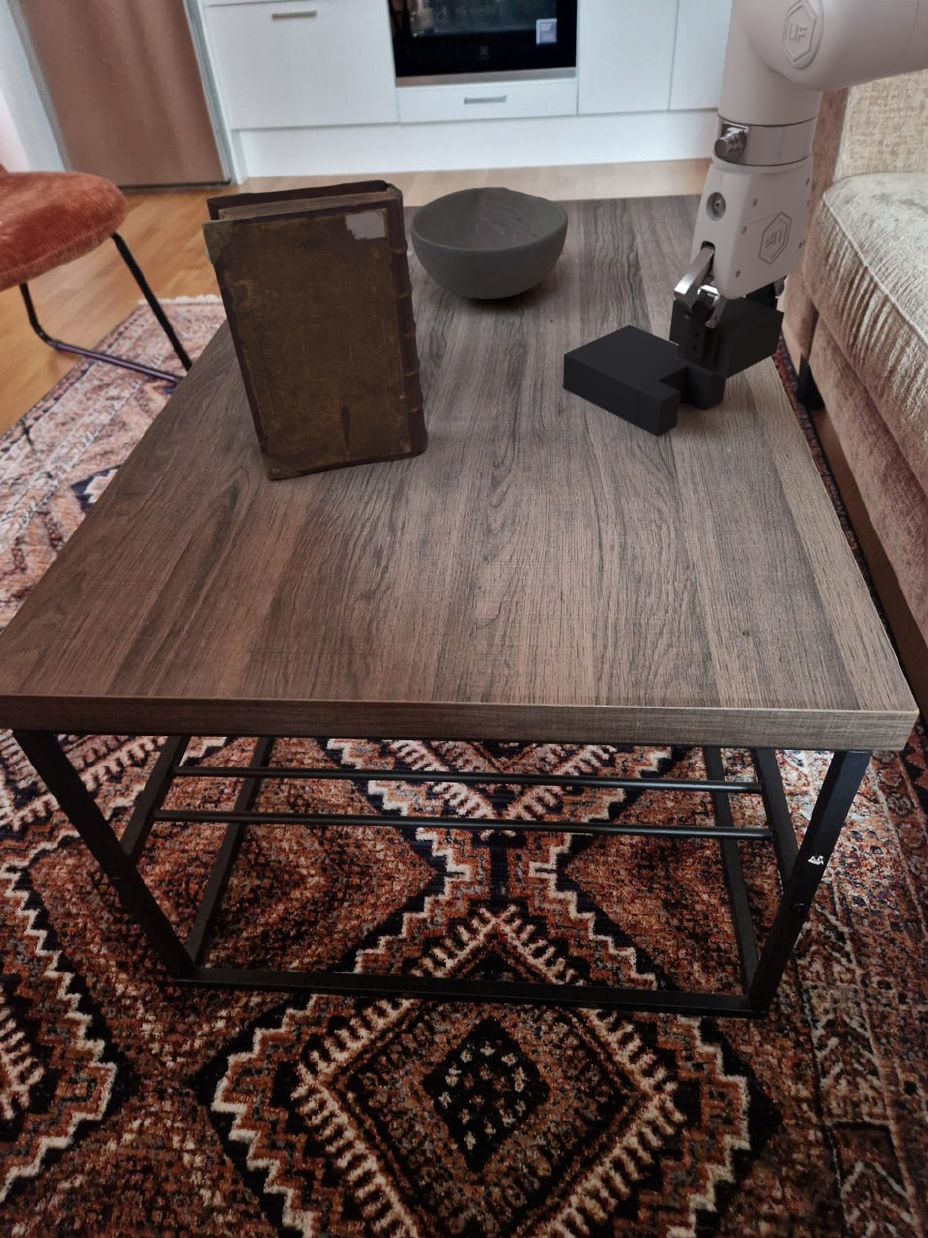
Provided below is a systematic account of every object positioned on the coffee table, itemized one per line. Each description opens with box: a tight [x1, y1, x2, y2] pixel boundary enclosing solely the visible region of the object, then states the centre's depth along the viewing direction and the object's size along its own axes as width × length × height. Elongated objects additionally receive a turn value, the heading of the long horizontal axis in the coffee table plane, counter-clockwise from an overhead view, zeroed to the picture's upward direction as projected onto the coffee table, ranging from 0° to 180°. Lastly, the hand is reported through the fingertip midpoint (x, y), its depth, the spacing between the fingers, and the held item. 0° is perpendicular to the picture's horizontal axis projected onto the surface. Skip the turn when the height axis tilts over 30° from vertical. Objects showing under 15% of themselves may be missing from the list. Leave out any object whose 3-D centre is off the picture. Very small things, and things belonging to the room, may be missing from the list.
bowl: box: [409, 186, 569, 300], centre depth 110 cm, size 20×20×10 cm
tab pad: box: [668, 294, 785, 380], centre depth 79 cm, size 9×7×4 cm
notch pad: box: [562, 324, 727, 437], centre depth 90 cm, size 14×10×4 cm
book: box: [201, 179, 429, 481], centre depth 78 cm, size 17×7×25 cm, turn 95°
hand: (728, 347), depth 79 cm, fingers closed on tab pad, 7 cm apart
